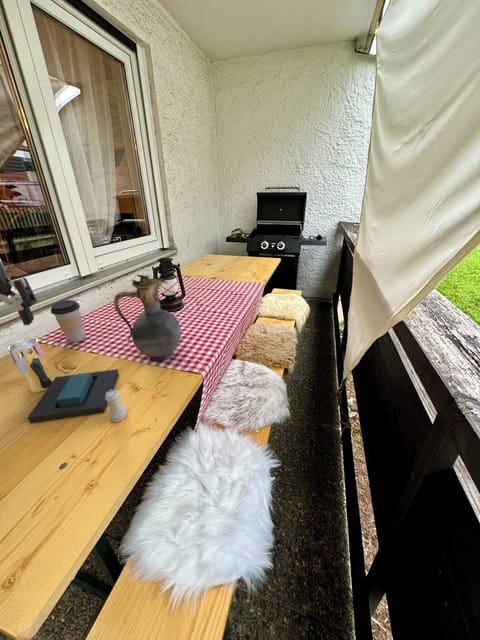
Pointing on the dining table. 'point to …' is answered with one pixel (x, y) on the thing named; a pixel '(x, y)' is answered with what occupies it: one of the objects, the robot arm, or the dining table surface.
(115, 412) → the rook chess piece
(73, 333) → the coffee cup
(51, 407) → the dark grey rectangular frame
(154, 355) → the pitcher
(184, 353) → the dining table surface
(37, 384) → the beer glass
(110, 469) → the dining table surface
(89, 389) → the block
